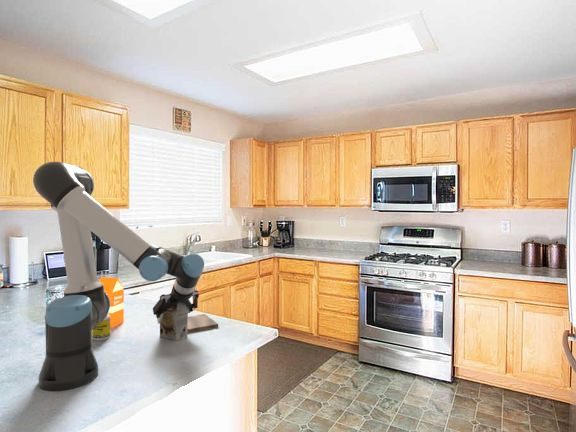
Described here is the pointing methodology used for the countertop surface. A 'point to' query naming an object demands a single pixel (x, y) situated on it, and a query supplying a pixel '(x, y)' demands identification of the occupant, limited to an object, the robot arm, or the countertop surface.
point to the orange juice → (114, 299)
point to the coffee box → (174, 322)
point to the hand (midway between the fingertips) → (171, 318)
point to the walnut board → (200, 323)
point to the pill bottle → (102, 329)
